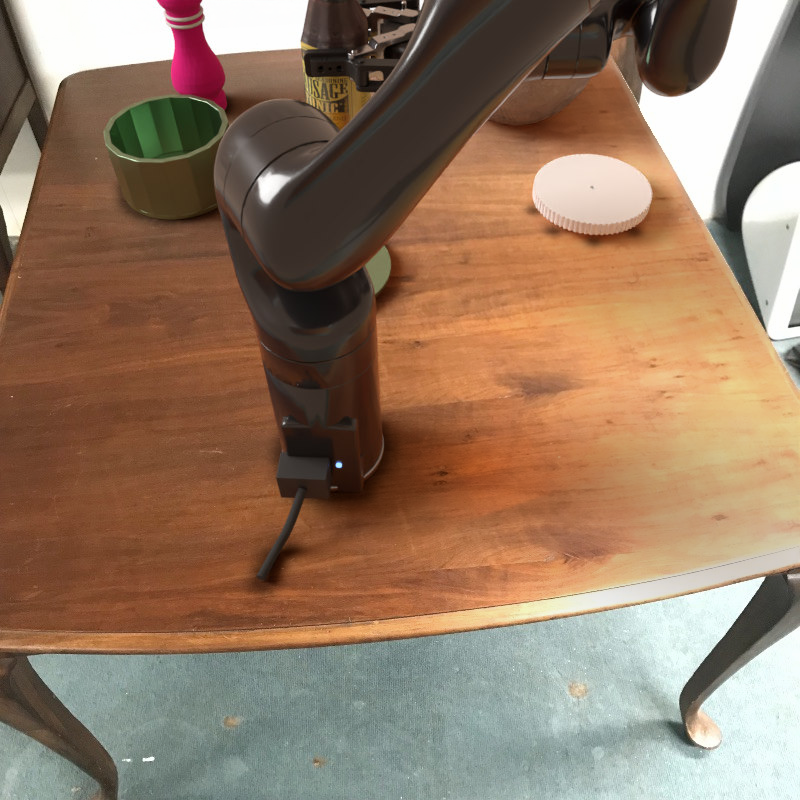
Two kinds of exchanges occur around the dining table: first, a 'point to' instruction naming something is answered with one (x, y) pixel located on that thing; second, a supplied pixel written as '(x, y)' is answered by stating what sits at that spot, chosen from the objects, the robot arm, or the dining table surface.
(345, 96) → the sauce bottle
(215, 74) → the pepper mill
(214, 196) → the pot
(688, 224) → the dining table surface
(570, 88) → the ceramic bowl
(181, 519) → the dining table surface
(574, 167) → the plastic lid
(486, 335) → the dining table surface
